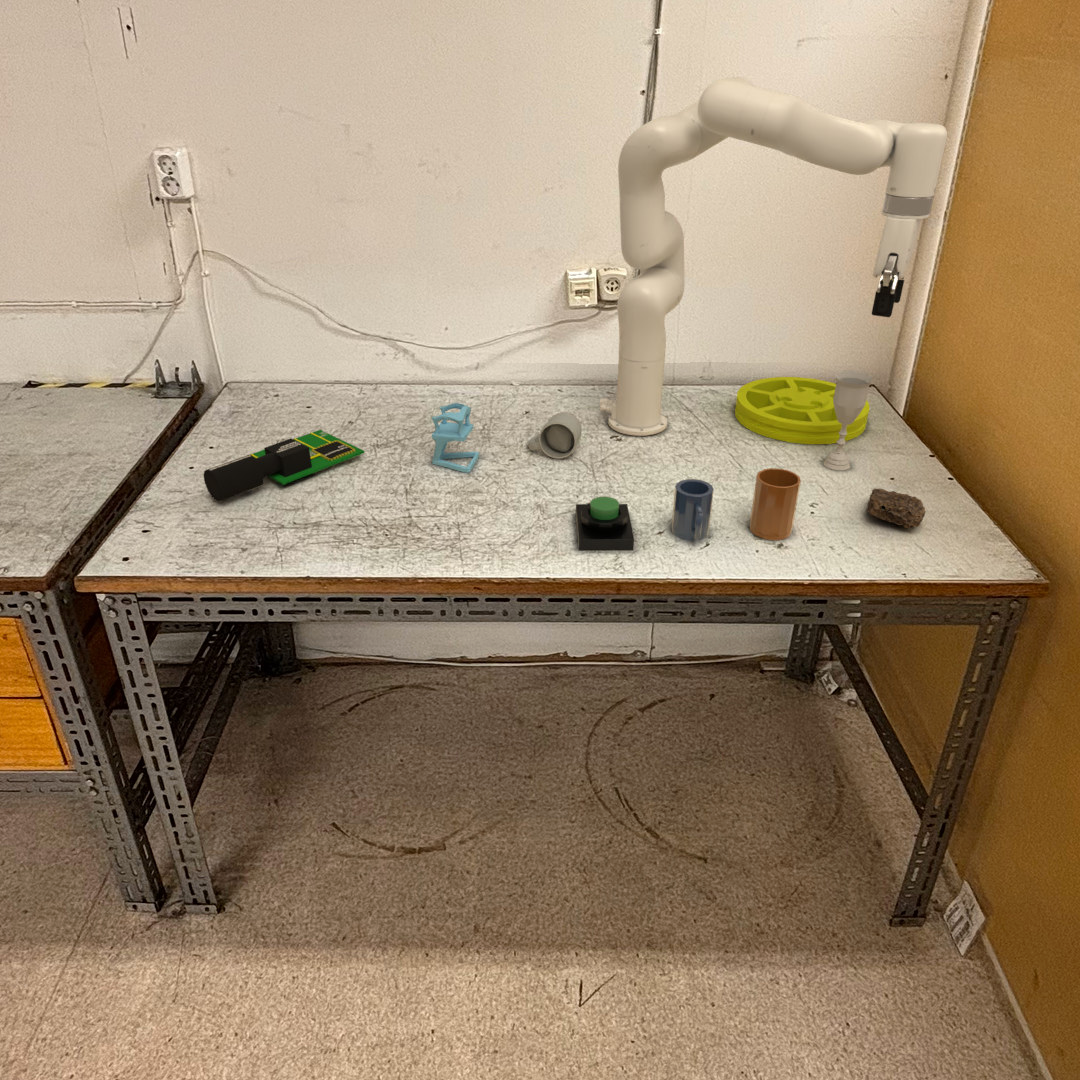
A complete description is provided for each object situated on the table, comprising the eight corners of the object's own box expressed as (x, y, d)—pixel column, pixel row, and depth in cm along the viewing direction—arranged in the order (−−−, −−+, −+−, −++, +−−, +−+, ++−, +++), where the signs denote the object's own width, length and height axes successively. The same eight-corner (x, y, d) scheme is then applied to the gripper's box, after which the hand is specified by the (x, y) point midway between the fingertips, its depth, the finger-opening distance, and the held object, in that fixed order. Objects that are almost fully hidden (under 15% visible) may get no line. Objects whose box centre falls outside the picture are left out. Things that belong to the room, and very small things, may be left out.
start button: (619, 520, 143) (620, 510, 142) (590, 521, 143) (591, 510, 142) (617, 506, 147) (617, 496, 146) (589, 507, 147) (589, 496, 146)
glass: (744, 534, 146) (751, 481, 141) (755, 516, 152) (763, 465, 147) (785, 544, 144) (794, 491, 139) (795, 525, 149) (804, 473, 144)
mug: (668, 523, 150) (672, 479, 145) (704, 522, 150) (709, 478, 146) (677, 550, 142) (682, 504, 138) (715, 549, 142) (720, 504, 138)
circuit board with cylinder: (316, 406, 177) (361, 426, 168) (321, 437, 180) (365, 458, 172) (179, 452, 158) (221, 477, 149) (187, 485, 162) (229, 512, 153)
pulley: (890, 439, 179) (895, 416, 177) (763, 448, 176) (766, 426, 173) (830, 390, 203) (834, 370, 200) (717, 397, 199) (719, 377, 196)
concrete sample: (916, 540, 145) (923, 514, 142) (855, 524, 149) (860, 498, 147) (929, 511, 153) (936, 486, 150) (871, 497, 158) (877, 472, 155)
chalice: (856, 474, 166) (875, 385, 156) (820, 471, 167) (836, 382, 157) (852, 458, 172) (870, 371, 162) (817, 455, 173) (833, 369, 164)
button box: (633, 550, 142) (634, 529, 140) (578, 551, 142) (579, 530, 140) (626, 514, 152) (627, 494, 150) (575, 515, 152) (576, 495, 150)
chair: (440, 452, 174) (436, 396, 168) (479, 456, 173) (477, 399, 166) (428, 469, 168) (423, 411, 161) (469, 473, 166) (466, 415, 160)
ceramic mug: (583, 443, 177) (583, 408, 173) (575, 460, 171) (576, 424, 167) (532, 440, 179) (531, 405, 175) (523, 456, 173) (522, 420, 169)
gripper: (891, 196, 151) (871, 294, 160) (874, 213, 138) (854, 318, 147) (937, 199, 148) (914, 299, 157) (924, 217, 135) (900, 324, 144)
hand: (885, 308), depth 152 cm, fingers open, 9 cm apart
